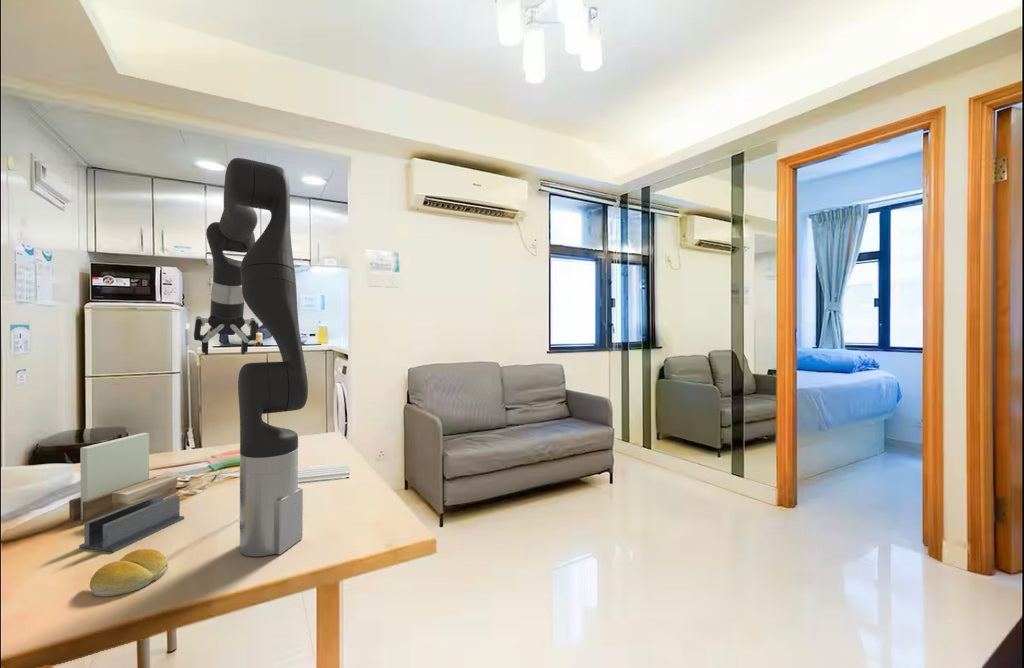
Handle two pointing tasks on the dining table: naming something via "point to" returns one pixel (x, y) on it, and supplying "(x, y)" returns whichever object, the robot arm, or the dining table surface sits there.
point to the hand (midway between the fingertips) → (224, 353)
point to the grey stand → (131, 523)
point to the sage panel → (113, 465)
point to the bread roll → (129, 573)
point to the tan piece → (145, 491)
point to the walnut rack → (93, 507)
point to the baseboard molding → (315, 472)
